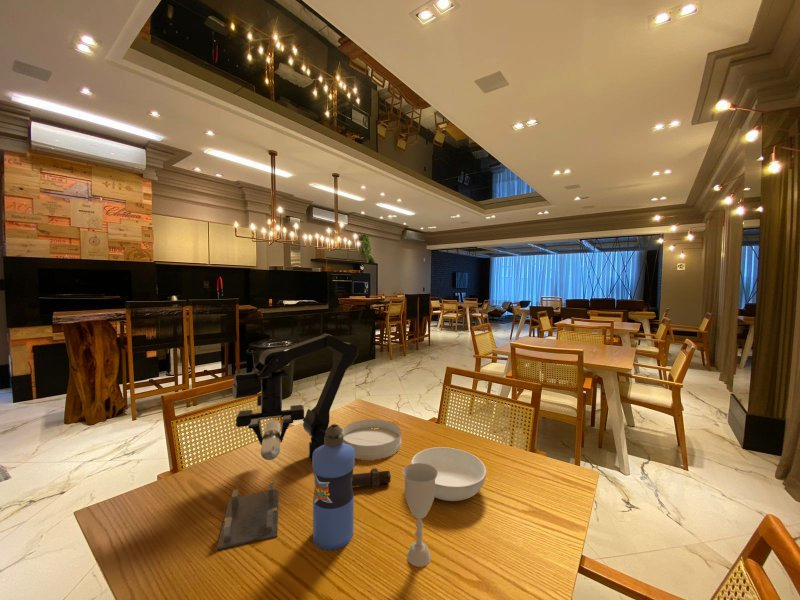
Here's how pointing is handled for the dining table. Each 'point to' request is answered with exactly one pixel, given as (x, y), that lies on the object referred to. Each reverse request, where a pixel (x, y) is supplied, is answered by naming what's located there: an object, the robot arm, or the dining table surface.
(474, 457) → the serving bowl
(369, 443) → the dish
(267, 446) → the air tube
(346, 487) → the water bottle
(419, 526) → the chalice
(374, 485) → the bolt
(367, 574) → the dining table surface
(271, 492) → the collar cradle
